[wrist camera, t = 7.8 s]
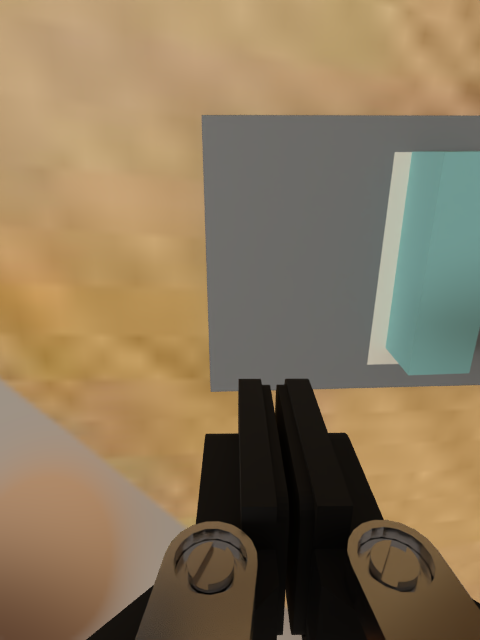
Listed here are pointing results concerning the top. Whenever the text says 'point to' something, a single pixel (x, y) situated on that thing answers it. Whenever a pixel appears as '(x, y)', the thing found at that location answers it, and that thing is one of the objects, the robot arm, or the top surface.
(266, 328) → the board
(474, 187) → the t block
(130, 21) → the top surface
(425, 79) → the top surface
